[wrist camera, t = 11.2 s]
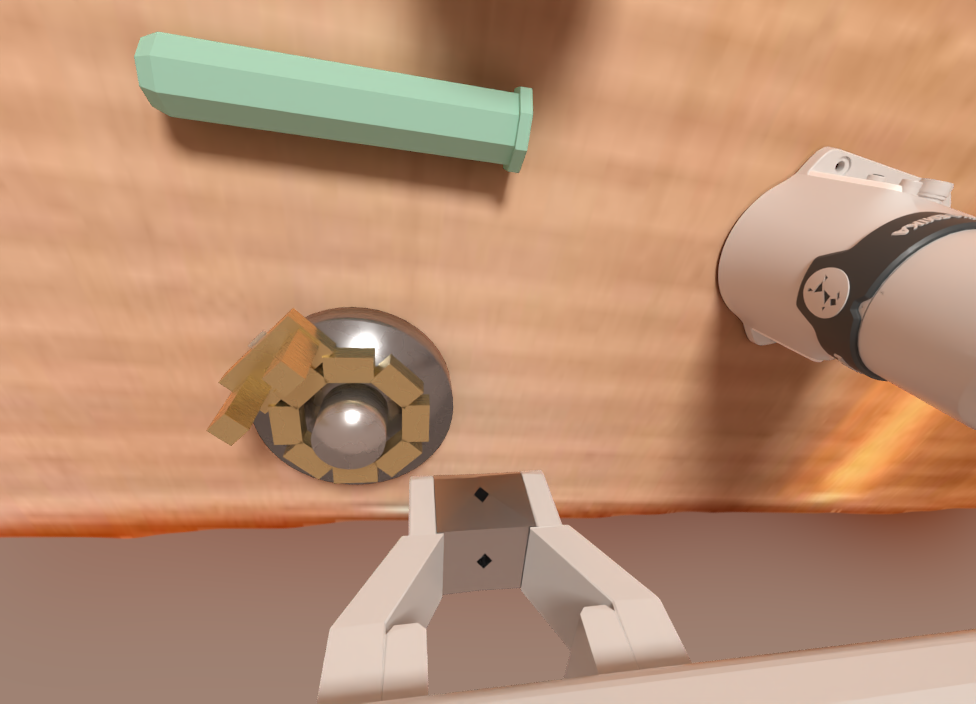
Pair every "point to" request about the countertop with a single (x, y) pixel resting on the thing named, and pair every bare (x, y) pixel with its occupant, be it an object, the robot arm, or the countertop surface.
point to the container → (332, 100)
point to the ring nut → (299, 375)
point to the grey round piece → (368, 394)
